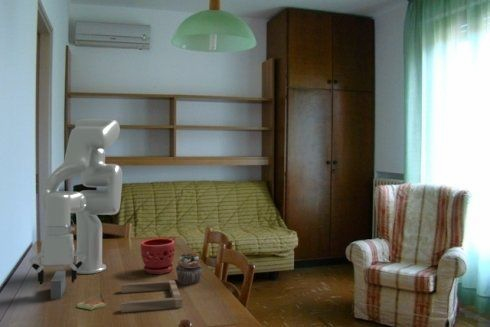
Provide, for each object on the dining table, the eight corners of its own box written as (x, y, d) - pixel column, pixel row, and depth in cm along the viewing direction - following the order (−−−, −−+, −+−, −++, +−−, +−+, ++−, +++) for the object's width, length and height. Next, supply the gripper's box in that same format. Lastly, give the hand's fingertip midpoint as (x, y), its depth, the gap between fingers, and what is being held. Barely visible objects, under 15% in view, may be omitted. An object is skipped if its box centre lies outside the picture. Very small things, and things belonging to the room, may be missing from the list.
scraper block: (56, 288, 152) (56, 271, 152) (65, 287, 153) (65, 270, 153) (50, 299, 140) (50, 281, 140) (61, 299, 141) (61, 280, 141)
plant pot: (156, 265, 183) (156, 236, 183) (181, 270, 176) (181, 240, 176) (133, 272, 172) (133, 242, 171) (159, 278, 165) (159, 246, 165)
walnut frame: (120, 291, 149) (120, 283, 149) (174, 287, 154) (174, 280, 154) (121, 312, 130) (121, 304, 130) (182, 307, 135) (182, 299, 135)
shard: (100, 297, 144) (100, 292, 144) (119, 301, 141) (119, 295, 141) (76, 308, 134) (76, 302, 134) (96, 312, 131) (96, 306, 131)
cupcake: (207, 281, 162) (207, 254, 162) (187, 287, 155) (187, 258, 154) (190, 276, 168) (190, 250, 168) (170, 281, 161) (170, 254, 161)
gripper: (86, 228, 152) (86, 278, 152) (31, 229, 147) (31, 281, 147) (85, 231, 144) (84, 283, 144) (27, 233, 140) (26, 287, 140)
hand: (57, 282), depth 146 cm, fingers open, 9 cm apart
